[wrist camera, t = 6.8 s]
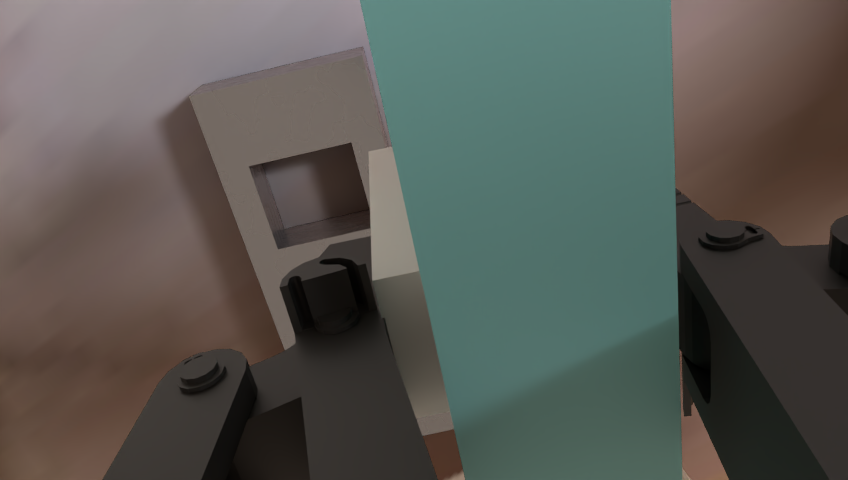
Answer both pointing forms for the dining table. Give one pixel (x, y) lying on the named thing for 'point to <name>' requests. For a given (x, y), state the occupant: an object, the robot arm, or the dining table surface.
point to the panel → (542, 225)
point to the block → (284, 137)
